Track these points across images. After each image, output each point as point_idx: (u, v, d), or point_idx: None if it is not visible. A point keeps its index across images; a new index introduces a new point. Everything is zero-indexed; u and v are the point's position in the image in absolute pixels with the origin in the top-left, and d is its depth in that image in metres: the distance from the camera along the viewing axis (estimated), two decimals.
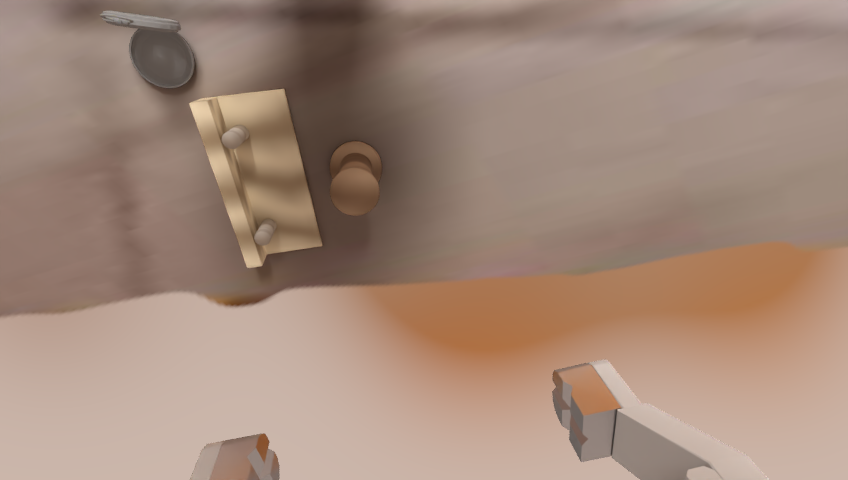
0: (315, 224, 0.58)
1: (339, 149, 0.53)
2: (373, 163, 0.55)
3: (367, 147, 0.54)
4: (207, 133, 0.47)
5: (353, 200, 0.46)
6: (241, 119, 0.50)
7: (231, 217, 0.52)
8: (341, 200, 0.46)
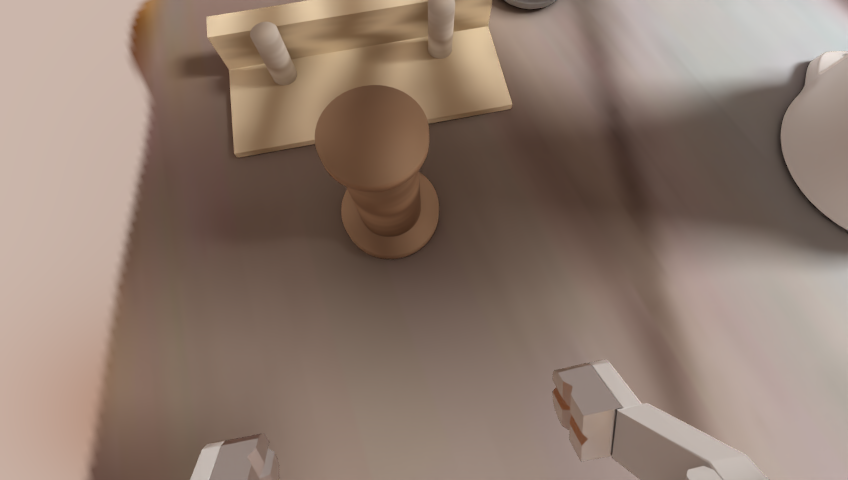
0: (280, 143, 0.31)
1: (425, 179, 0.29)
2: (401, 238, 0.28)
3: (432, 226, 0.28)
4: None
5: (353, 130, 0.20)
6: (459, 51, 0.34)
7: (307, 3, 0.31)
8: (353, 106, 0.20)
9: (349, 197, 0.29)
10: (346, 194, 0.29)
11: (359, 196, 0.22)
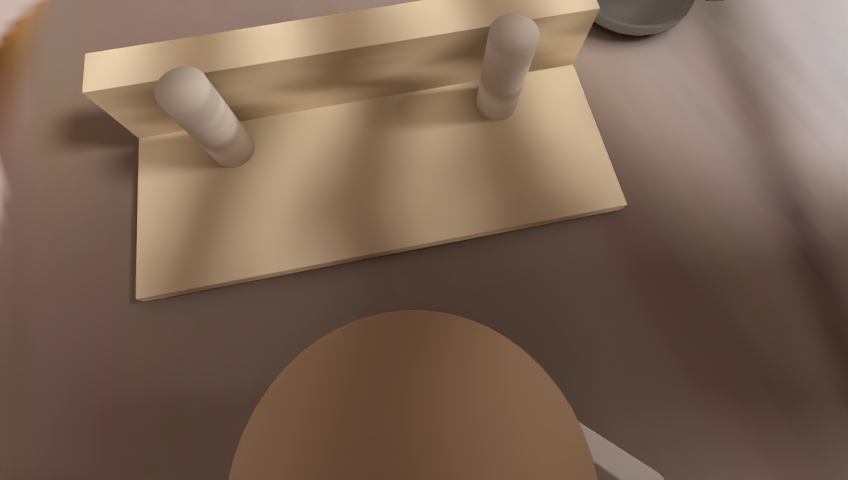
0: (219, 279, 0.17)
1: None
2: None
3: None
4: (514, 0, 0.18)
5: None
6: (529, 107, 0.20)
7: (268, 29, 0.17)
8: (352, 390, 0.06)
9: None
10: None
11: None
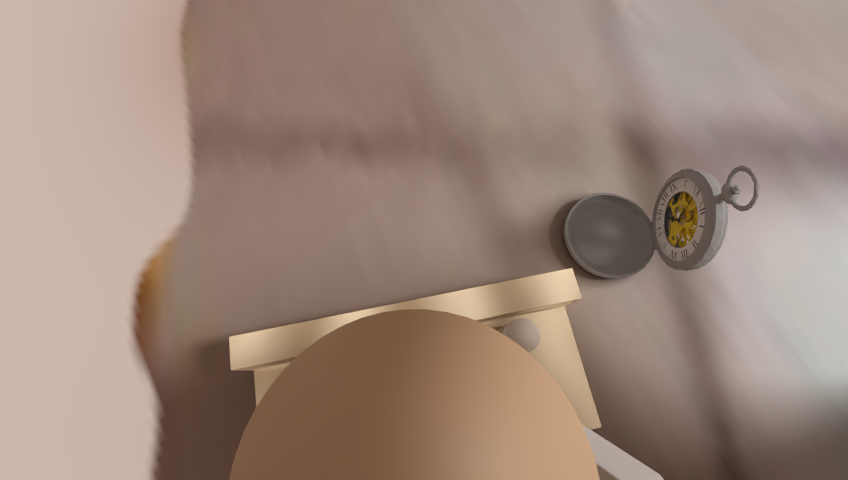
0: None
1: None
2: None
3: None
4: (522, 291, 0.26)
5: None
6: None
7: (353, 315, 0.25)
8: (353, 390, 0.06)
9: None
10: None
11: None
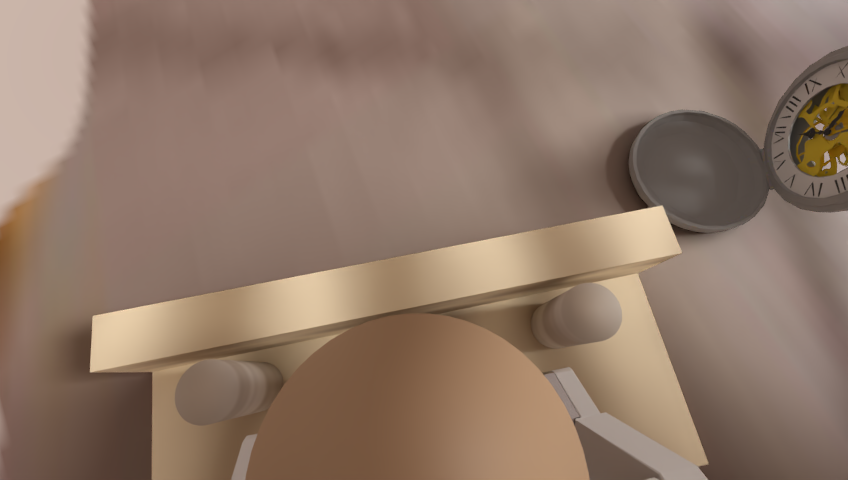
0: None
1: None
2: None
3: None
4: (583, 241, 0.16)
5: (360, 477, 0.07)
6: None
7: (303, 281, 0.15)
8: (360, 388, 0.07)
9: None
10: None
11: None
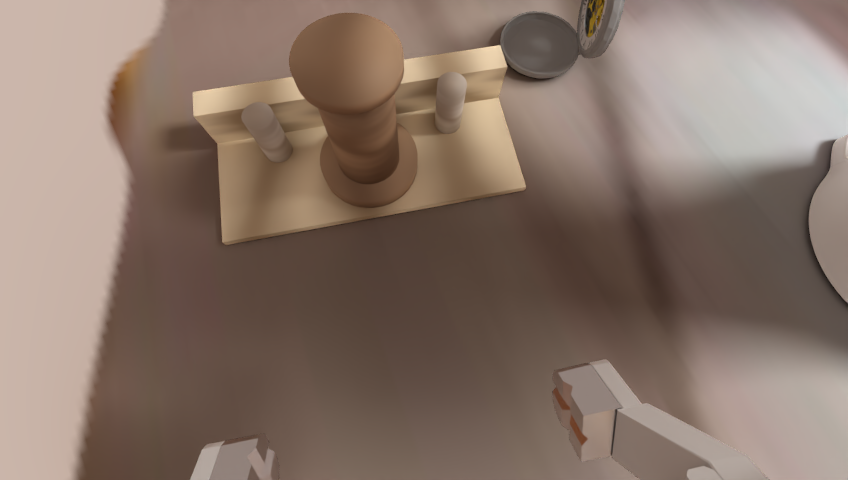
0: (273, 230, 0.28)
1: (404, 130, 0.30)
2: (380, 185, 0.28)
3: (410, 174, 0.29)
4: (455, 61, 0.29)
5: (328, 54, 0.20)
6: (468, 125, 0.31)
7: None
8: (328, 32, 0.20)
9: (328, 146, 0.29)
10: (325, 143, 0.29)
11: (335, 128, 0.22)
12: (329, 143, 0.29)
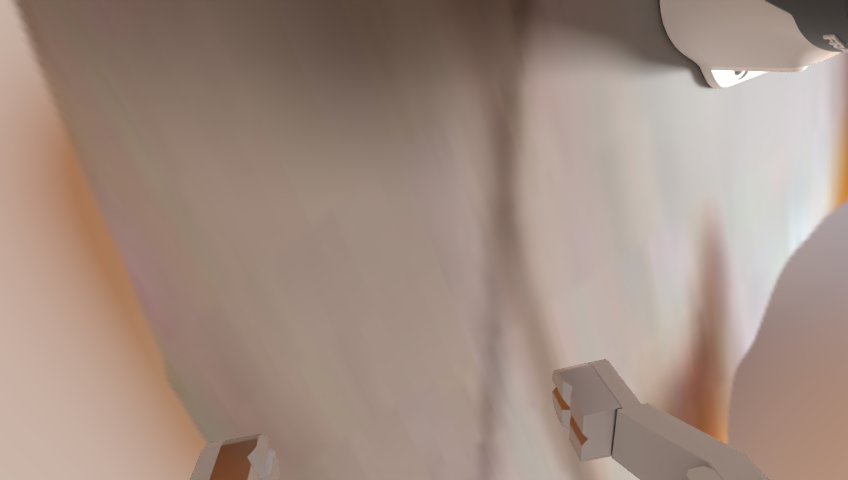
0: None
1: None
2: None
3: None
4: None
5: None
6: None
7: None
8: None
9: None
10: None
11: None
12: None
